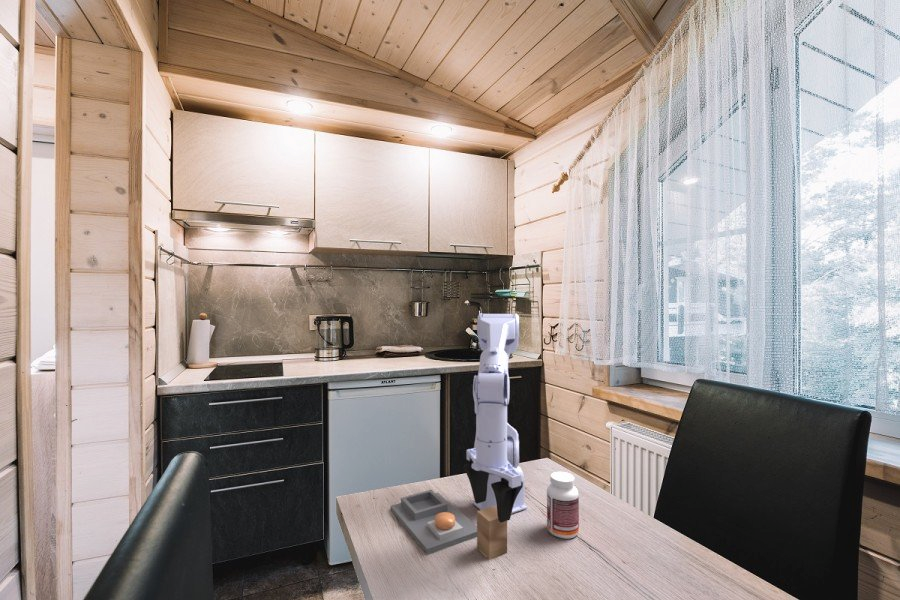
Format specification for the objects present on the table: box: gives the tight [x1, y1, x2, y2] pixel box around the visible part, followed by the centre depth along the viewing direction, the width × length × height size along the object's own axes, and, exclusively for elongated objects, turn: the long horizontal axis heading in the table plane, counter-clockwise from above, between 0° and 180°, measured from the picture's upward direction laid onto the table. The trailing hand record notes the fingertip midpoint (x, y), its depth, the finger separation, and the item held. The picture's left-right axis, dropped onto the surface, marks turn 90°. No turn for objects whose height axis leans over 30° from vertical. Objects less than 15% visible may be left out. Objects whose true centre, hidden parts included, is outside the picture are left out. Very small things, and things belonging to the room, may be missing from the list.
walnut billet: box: [476, 506, 508, 561], centre depth 76 cm, size 4×4×7 cm
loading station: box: [389, 489, 477, 555], centre depth 86 cm, size 12×18×2 cm, turn 30°
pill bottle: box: [546, 471, 580, 540], centre depth 83 cm, size 6×6×11 cm
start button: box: [435, 512, 455, 529], centre depth 82 cm, size 4×4×1 cm
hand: (491, 510), depth 76 cm, fingers open, 7 cm apart
